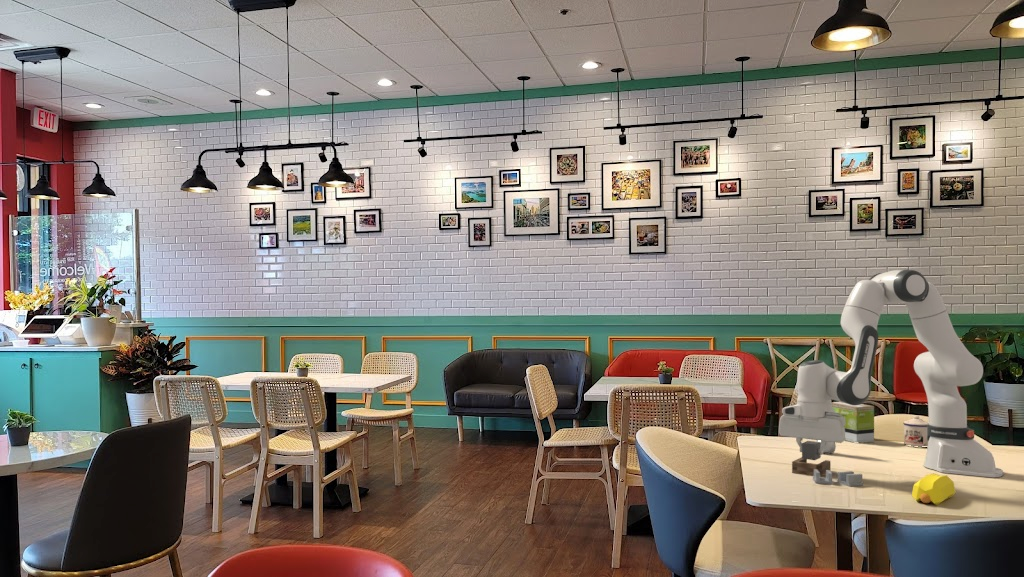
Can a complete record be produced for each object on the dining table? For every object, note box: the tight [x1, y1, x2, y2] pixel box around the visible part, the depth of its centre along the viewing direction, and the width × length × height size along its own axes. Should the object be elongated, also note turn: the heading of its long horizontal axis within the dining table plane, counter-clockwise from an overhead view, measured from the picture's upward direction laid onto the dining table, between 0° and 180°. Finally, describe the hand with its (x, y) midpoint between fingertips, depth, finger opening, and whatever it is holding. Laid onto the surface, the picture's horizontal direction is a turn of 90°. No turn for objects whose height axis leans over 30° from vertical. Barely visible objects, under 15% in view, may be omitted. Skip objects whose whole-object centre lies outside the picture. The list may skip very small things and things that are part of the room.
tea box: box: [831, 401, 875, 443], centre depth 299 cm, size 15×10×15 cm, turn 23°
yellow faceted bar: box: [911, 473, 956, 506], centre depth 203 cm, size 18×7×8 cm
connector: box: [801, 440, 822, 461], centre depth 238 cm, size 4×10×5 cm, turn 141°
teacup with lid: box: [903, 415, 929, 447], centre depth 285 cm, size 12×9×12 cm
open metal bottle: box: [816, 398, 837, 455], centre depth 269 cm, size 6×7×20 cm
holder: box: [791, 456, 832, 478], centre depth 236 cm, size 9×10×4 cm
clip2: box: [812, 469, 834, 485], centre depth 223 cm, size 5×5×3 cm
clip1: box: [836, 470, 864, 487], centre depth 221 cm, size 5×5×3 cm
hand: (811, 453), depth 237 cm, fingers closed on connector, 4 cm apart
